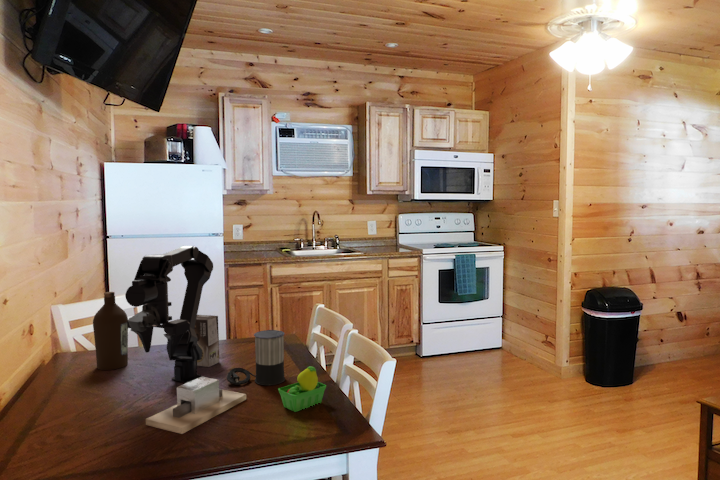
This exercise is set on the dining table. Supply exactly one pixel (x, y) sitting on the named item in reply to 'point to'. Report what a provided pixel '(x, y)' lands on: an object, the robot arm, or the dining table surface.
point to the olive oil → (111, 335)
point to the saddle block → (199, 393)
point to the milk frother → (265, 360)
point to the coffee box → (207, 339)
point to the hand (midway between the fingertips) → (159, 354)
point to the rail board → (185, 420)
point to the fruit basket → (303, 391)
